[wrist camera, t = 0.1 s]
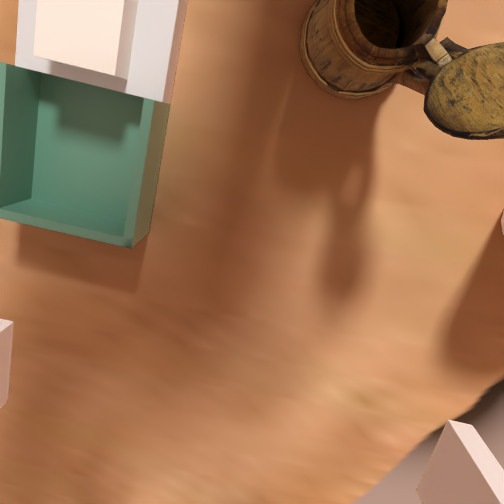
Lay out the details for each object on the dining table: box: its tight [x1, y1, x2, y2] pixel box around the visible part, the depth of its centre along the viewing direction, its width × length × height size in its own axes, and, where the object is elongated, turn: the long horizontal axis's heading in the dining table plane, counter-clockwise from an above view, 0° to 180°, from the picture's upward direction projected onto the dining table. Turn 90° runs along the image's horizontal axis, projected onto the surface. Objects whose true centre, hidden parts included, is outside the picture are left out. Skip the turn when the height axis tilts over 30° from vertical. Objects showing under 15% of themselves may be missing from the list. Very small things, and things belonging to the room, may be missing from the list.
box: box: [0, 62, 170, 249], centre depth 35 cm, size 12×12×6 cm
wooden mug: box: [300, 0, 504, 140], centre depth 26 cm, size 9×14×18 cm, turn 39°
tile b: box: [33, 0, 139, 80], centre depth 31 cm, size 6×6×3 cm
